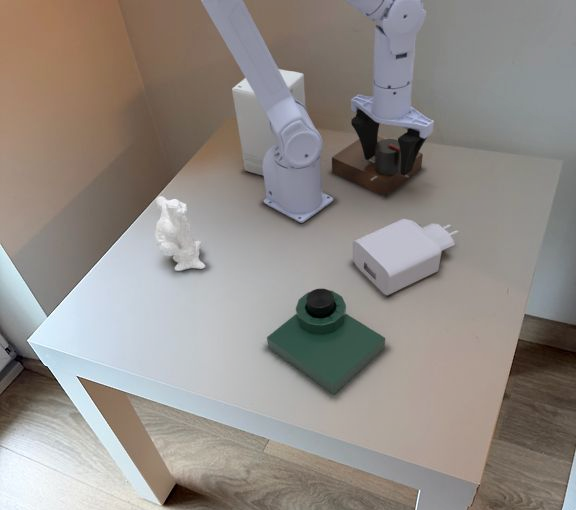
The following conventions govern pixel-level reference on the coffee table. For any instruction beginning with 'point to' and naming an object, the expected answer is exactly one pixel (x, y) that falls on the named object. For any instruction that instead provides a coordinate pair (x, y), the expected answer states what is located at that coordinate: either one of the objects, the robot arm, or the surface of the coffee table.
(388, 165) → the lock knob
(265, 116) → the white product box
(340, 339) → the base
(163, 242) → the koala figurine
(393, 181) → the panel
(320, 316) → the black push button
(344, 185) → the coffee table surface
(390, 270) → the charger
